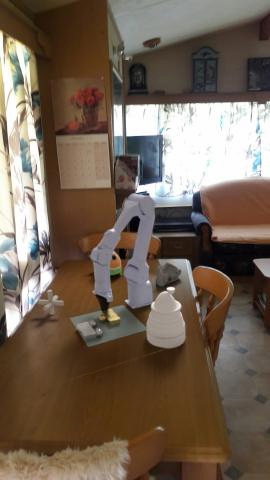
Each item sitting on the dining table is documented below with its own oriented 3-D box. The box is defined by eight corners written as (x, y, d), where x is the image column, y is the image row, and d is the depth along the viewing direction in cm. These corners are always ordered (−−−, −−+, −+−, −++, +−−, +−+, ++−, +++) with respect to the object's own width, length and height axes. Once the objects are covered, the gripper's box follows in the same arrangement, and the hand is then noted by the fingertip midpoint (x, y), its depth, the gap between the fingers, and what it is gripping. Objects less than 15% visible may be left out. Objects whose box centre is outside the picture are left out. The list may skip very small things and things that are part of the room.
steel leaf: (103, 336, 122) (103, 330, 121) (85, 341, 119) (84, 335, 118) (94, 324, 129) (94, 318, 129) (77, 329, 127) (76, 323, 126)
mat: (123, 305, 144) (122, 304, 144) (148, 330, 125) (148, 329, 125) (69, 318, 135) (69, 318, 135) (88, 347, 116) (88, 346, 116)
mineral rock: (180, 277, 170) (180, 257, 167) (185, 286, 160) (185, 265, 157) (153, 279, 169) (153, 259, 166) (157, 288, 159) (156, 267, 156)
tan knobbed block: (120, 323, 129) (120, 317, 129) (103, 328, 127) (103, 322, 126) (111, 313, 137) (111, 307, 137) (95, 317, 135) (95, 311, 134)
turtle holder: (104, 266, 189) (102, 244, 186) (127, 274, 177) (126, 251, 173) (85, 272, 181) (83, 250, 178) (108, 281, 168) (106, 257, 165)
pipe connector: (59, 321, 133) (56, 297, 131) (34, 319, 135) (31, 295, 133) (69, 309, 143) (66, 286, 140) (45, 307, 145) (43, 285, 142)
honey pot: (188, 330, 124) (188, 282, 119) (180, 351, 112) (180, 298, 107) (152, 325, 128) (151, 278, 123) (141, 345, 116) (139, 294, 111)
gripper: (86, 274, 138) (88, 306, 142) (98, 287, 125) (101, 322, 129) (103, 271, 141) (105, 302, 144) (117, 283, 128) (119, 317, 132)
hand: (104, 311), depth 137 cm, fingers closed
